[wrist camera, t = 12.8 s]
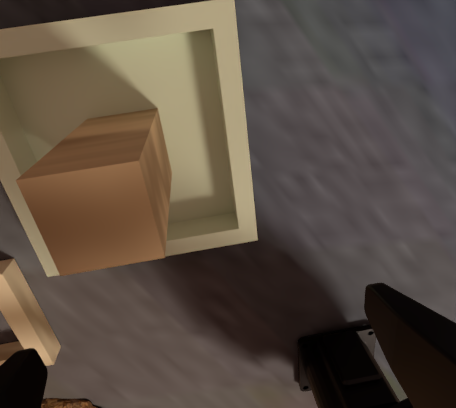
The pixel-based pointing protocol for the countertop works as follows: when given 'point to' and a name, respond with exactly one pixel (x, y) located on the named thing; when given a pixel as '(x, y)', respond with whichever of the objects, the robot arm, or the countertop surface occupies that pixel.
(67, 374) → the countertop surface
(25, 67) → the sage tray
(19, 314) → the birch stand
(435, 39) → the countertop surface
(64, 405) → the wooden fragment
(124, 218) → the wooden block
